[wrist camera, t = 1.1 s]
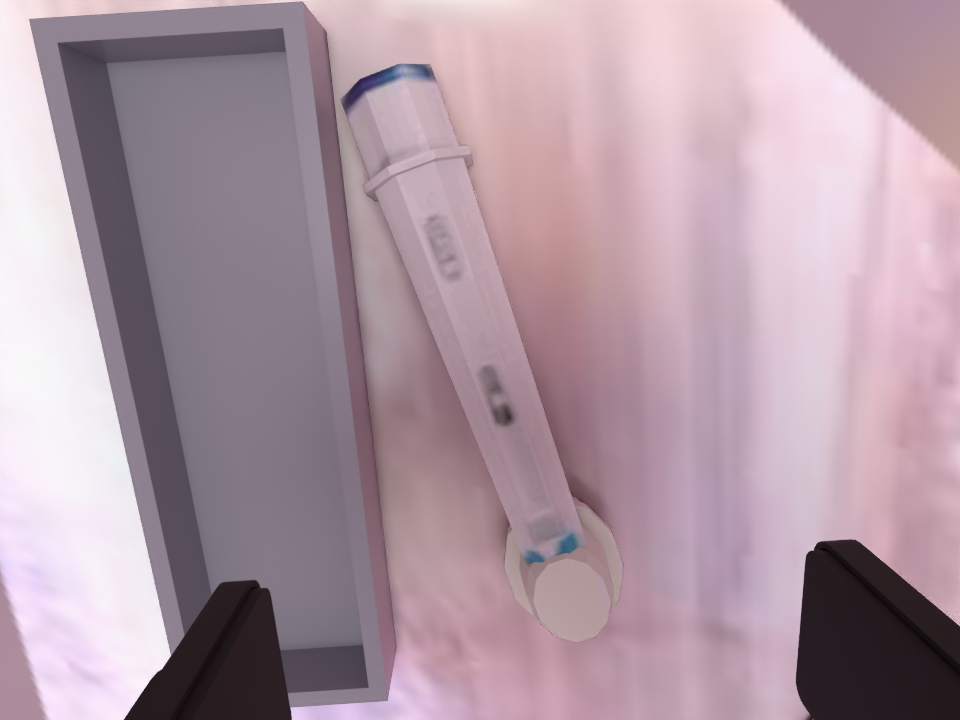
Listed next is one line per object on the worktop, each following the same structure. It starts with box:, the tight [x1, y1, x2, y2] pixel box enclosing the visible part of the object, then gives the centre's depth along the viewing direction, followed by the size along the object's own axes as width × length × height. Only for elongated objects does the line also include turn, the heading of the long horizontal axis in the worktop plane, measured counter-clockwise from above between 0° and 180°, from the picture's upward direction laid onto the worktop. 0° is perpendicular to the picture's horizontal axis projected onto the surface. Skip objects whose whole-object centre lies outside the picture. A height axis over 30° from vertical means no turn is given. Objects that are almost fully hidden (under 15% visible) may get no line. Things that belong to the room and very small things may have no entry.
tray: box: [29, 2, 396, 707], centre depth 26 cm, size 30×10×4 cm, turn 4°
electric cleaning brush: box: [341, 64, 624, 643], centre depth 26 cm, size 5×7×25 cm
